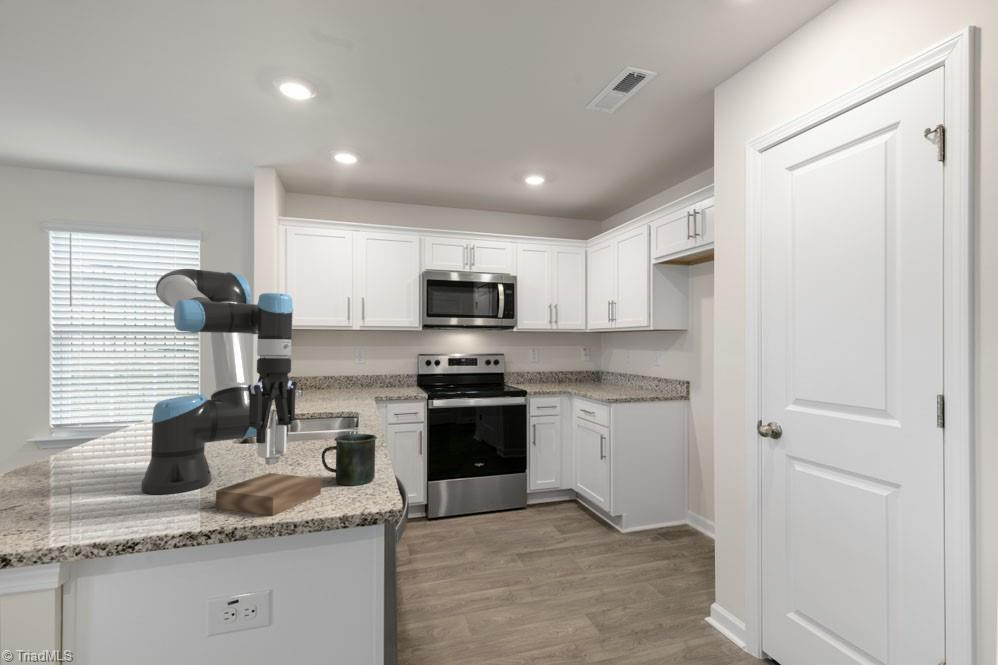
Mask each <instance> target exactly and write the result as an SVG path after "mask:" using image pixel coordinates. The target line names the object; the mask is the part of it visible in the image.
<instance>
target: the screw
mask: <svg viewBox="0 0 998 665" xmlns="http://www.w3.org/2000/svg"><path fill="white" fill-rule="evenodd" d="M268 424H269V425H268V426H269V427H268V429H270V447H269V457H261V459H262V458H263V459H264V460H265V465H269V466H270V465H277V464H278V463H279V459H280V458H281V457H283V456H284V453H283V452H279V451H277V450H276V446H277V445H276V441H277V440H276V439H277V438H276V436H277V435H276V434H277V433H276V431H277V430H276V429H277V428H276V426H277V425H278V419H277V412H276V409H274V408H273V409H271V411H270V415H269V421H268Z"/></svg>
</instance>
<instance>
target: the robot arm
mask: <svg viewBox="0 0 998 665" xmlns="http://www.w3.org/2000/svg"><path fill="white" fill-rule="evenodd" d="M251 291H252V290H251V288H250V284H249V282H248V280H247V278H246V277H244V276H243V275H242V274H237V273H234V272H233V273H232V272H230V271H229V272H221V271H214V270H204V269H195V268H179V269H175V270H172V271H168V272H167V273H165V274H164V275H162V276H161V277H160V278H159V279H158V280H157V282H156V285H155V292H156V296H157V297H158V299H159V300H160V301H161V302H162V303H163V304H164V305H166V306H168V307H170V308H173V309H174V310H173V311H174V312H173V323H174V327H175V329H176V330H178V331H180V332H189V333H192V334H193V333H210V341H211V348H212V351H211V352H212V362H213V369H214V379H215V388H216V389H215V390H214V391H213V392H212V393H211V395H210V399H208V397H207V396H206V394H194V395H184V396H183V395H182V396H177V397H173V398H167V399H164V400H161V401H159V402H157V403H156V404H155V405H153V406H154V407H153V409H152V410H153V411H152V419H151V423H152V424H151V426H152V427H151V428H152V429H151V452H150V453H151V454H150V455H151V456H150V460H149V463H148V466H147V469H146V471H145V474H144V477H143V479H142V481H141V492H142V493H144V494H150V495H168V494H177V493H184V492H189V491H193V490H194V491H195V490H197V489H198V490H199V489H200V488H203V487H206V486H208V485H209V484H211V482H212V472H211V470H210V467H209V464H208V461H207V458H206V454H205V445H206V443H214V442H221V441H232V440H233V441H234V440H244V439H247V438H254V437H255V438H256V440H255V442H256V444H257V457H258V458H262V457H269V447H270V429H269V428H268V426H269V425H268V424H269V421H270V411H271V410H272V406H273V401H274V406H275V410H276V419H277V424H276V425H277V426H276V428H277V429H276V430H277V431H276V433H277V434H276V435H277V436H276V438H277V439H276V440H277V441H276V445H277V446H276V450H277V451H279V452H282V453H283V454H285V453H286V452H287V438H288V436H289V433H288V431H289V426H291V425H292V424H293V422H294V420H295V419H296V390H297V386H298V382H297V381H292V380H290V378H289V375H288V374H291V373H292V359H291V358H289V357H290V356H292V338H293V337H292V336H293V311H294V308H293V298H292V296H290V294H286V293H279V292H278V293H275V292H265V293H261V294H260V295H259V296H258V300H257V304H252V303H251V301H252V299H251V296H252V292H251ZM244 334H251V335H257V342H256V343H257V345H256V347H257V348H256V355H257V356H258V358H257V359H256V373H257V374H258V376H259V377H258V380H257V382H256V383H254V384H250V378H249V370H248V369H249V368H248V361H247V354H246V353H247V352H246V346H245V338H244V337H245V336H244Z"/></svg>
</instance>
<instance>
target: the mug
mask: <svg viewBox="0 0 998 665" xmlns="http://www.w3.org/2000/svg"><path fill="white" fill-rule="evenodd" d="M377 439H378V437H377V436H376V435H375V434H368V433H353V434H352V433H351V434H344V435H340V436H339V435H338V436H337V437H335V438H334V441H335V444H336V445H333V446H329V447H328V446H327V447H325V448H324V449H323V451H322V453H321V463H322V465H323V467H324V469H325V470H327V471H328V472H330V473H334V474H335V482H336V483H337V484H339V485H342V486H359V485H366V484H368V483H371V482H373V480H374V479H375V475H376V474H375V473H376V472H375V471H376V466H375V465H376V440H377ZM333 450H335V468H332V467H330V466H329V465H328V463H327V462H326V460H325V459H326V457H325V455H326V453H327V452H330V451H333Z"/></svg>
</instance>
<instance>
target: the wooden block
mask: <svg viewBox="0 0 998 665" xmlns="http://www.w3.org/2000/svg"><path fill="white" fill-rule="evenodd" d="M321 486H322V478H321V477H315V476H314V477H313V476H303V475H302V476H301V475H295V474H293V475H292V474H283V473H273V472H267V473H264V474H261V475H259V476H255V477H252V478H250V479H247V480H243V481H240V482H237V483H233V484H231V485H228V486H225V487H222V488H219V489H216V490H215V509H219V510H226V511H234V512H242V513H247V514H248V513H249V514H255V515H262V516H263V515H265V516H271V517H274V516H276V515H278V514H280V513H282V512H284V511H287V510H289V509H292V508H293V507H296V506H298V505H300V504H302V503H304V502H307V501H308V500H311V499H313V498H316V497H318V496H320V495H321V494H322V493H321V491H322V490H321V488H322V487H321Z"/></svg>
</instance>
